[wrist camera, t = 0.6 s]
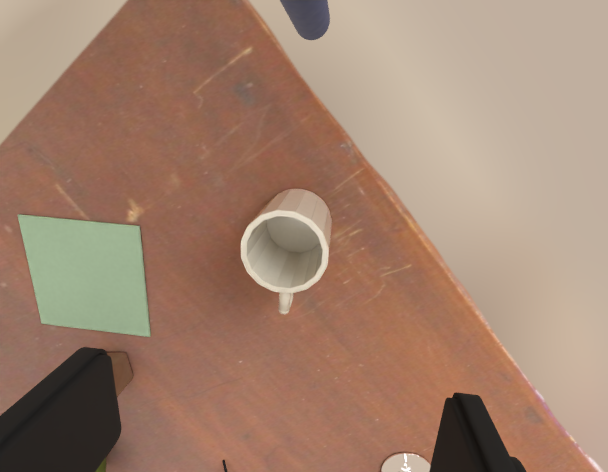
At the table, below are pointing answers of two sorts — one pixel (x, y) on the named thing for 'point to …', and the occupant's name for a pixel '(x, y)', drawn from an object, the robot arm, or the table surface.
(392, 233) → the table surface
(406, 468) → the wineglass
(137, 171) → the table surface
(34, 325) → the table surface
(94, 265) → the mat
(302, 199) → the mug
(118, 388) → the wooden block
